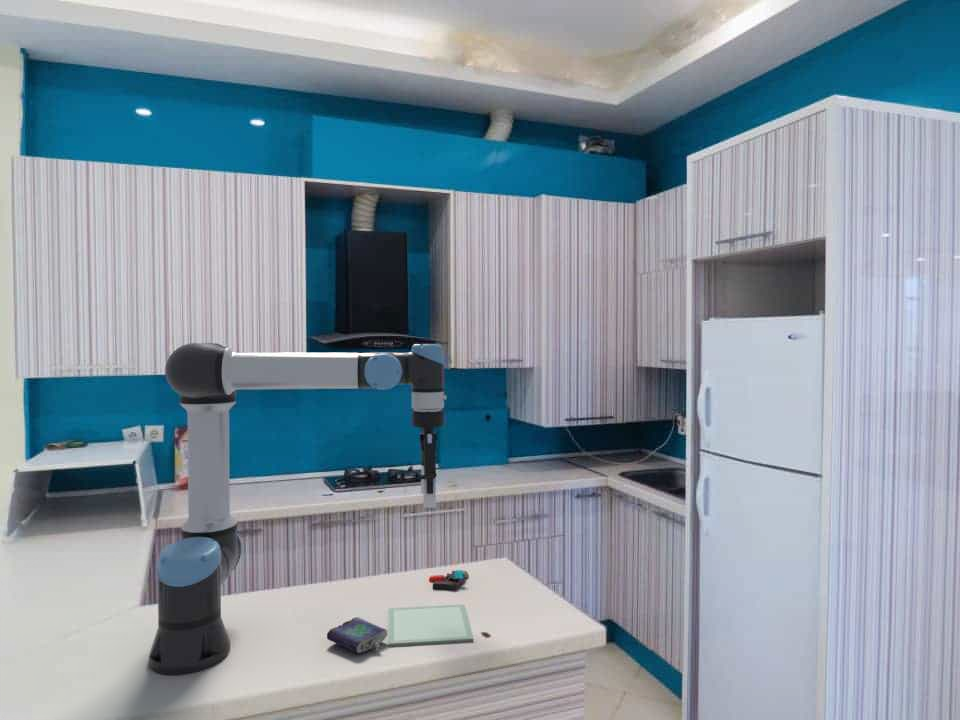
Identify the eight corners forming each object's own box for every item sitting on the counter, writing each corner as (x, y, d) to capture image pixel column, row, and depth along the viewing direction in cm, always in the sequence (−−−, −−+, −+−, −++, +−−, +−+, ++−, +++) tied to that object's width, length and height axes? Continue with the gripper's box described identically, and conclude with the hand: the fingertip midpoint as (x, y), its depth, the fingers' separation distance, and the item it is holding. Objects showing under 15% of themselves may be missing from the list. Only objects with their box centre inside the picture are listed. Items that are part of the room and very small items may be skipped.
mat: (387, 646, 132) (387, 643, 132) (388, 610, 150) (388, 608, 150) (473, 641, 135) (473, 638, 135) (464, 606, 153) (464, 604, 153)
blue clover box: (359, 614, 140) (394, 630, 133) (359, 627, 140) (394, 643, 133) (326, 630, 132) (361, 647, 126) (326, 643, 132) (361, 661, 126)
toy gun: (471, 578, 172) (471, 561, 172) (456, 595, 160) (456, 576, 160) (438, 575, 175) (438, 557, 175) (421, 591, 163) (421, 572, 163)
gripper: (448, 415, 136) (448, 513, 136) (440, 404, 161) (440, 487, 161) (413, 415, 135) (413, 514, 135) (410, 405, 160) (410, 488, 160)
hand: (428, 500), depth 148 cm, fingers open, 13 cm apart
